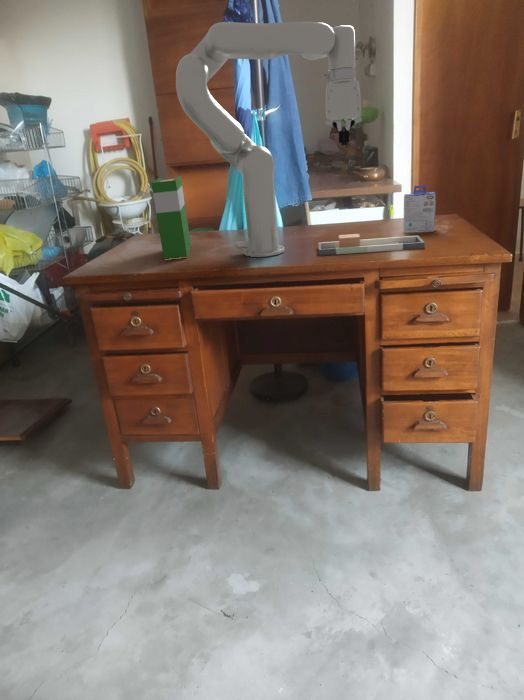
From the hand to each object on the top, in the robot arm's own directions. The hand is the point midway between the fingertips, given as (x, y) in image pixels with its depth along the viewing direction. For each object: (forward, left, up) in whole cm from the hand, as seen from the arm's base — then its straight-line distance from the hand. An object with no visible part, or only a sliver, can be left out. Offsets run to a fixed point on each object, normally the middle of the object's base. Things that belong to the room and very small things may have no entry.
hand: (344, 145), depth 155 cm
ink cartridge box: (+24, +8, -29) cm, 39 cm away
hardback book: (-56, 0, -29) cm, 63 cm away
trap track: (+6, -13, -29) cm, 32 cm away
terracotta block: (0, -13, -29) cm, 32 cm away
